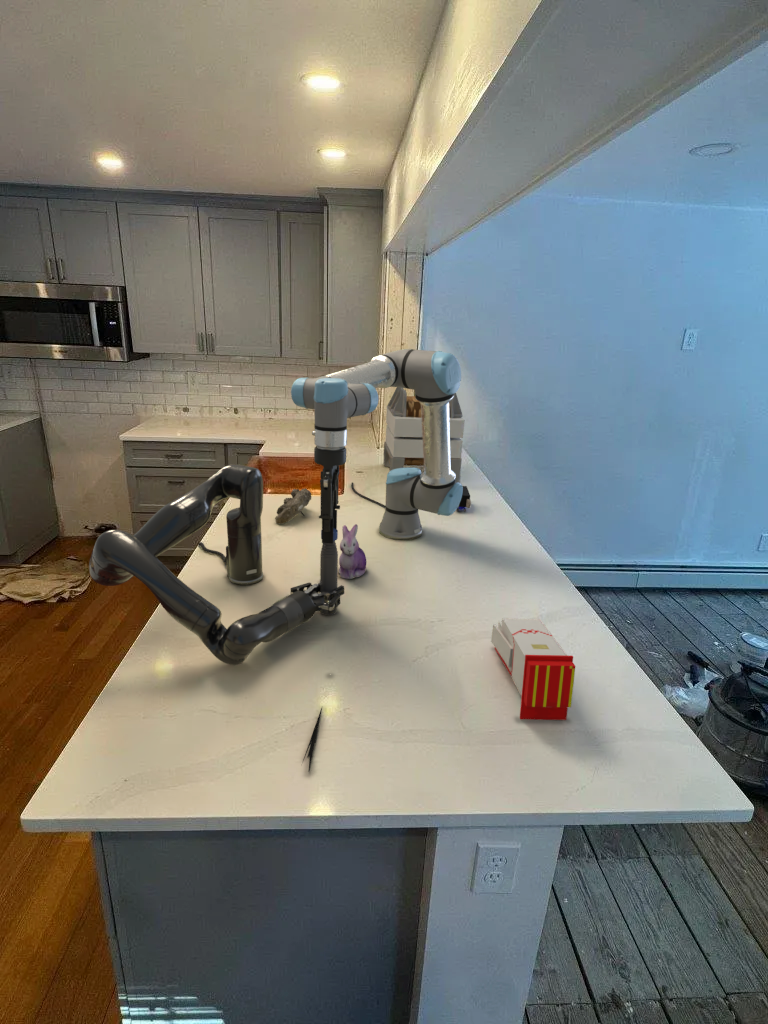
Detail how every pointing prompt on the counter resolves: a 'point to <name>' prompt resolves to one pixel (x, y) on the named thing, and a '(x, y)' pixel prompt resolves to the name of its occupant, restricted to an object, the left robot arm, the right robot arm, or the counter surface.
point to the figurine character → (464, 499)
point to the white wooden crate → (417, 433)
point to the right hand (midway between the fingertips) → (329, 538)
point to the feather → (313, 740)
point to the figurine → (351, 555)
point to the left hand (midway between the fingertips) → (335, 586)
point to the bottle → (328, 570)
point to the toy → (535, 667)
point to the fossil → (293, 505)
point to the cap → (335, 534)
